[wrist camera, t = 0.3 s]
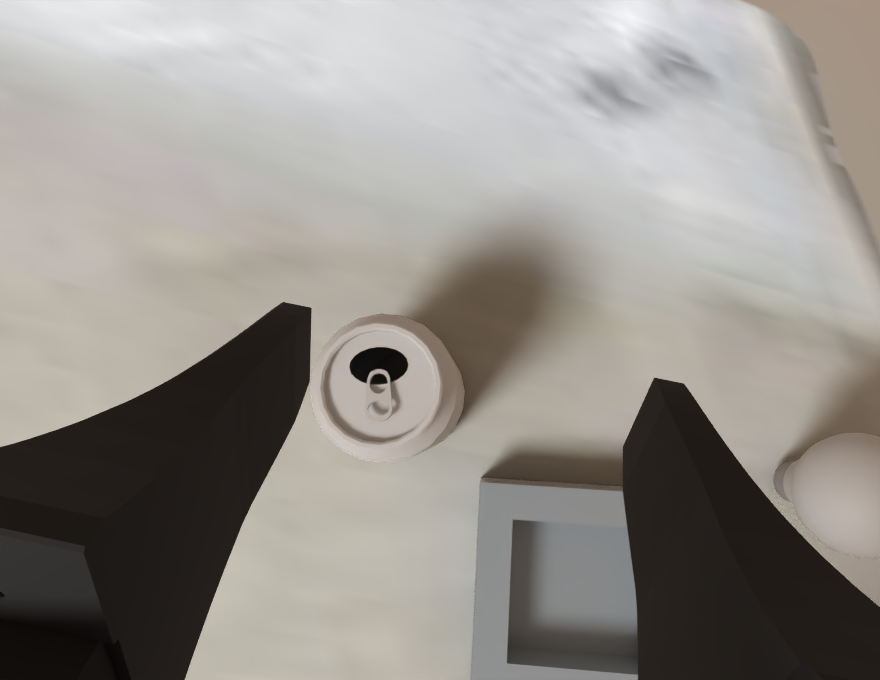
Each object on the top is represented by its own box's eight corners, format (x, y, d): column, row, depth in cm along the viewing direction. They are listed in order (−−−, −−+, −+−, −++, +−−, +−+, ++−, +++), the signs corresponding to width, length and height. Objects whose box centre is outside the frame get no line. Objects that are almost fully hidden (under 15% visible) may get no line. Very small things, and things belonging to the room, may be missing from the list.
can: (462, 335, 44) (451, 303, 32) (468, 450, 43) (459, 461, 31) (350, 341, 44) (298, 312, 32) (354, 455, 43) (301, 468, 31)
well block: (670, 691, 40) (687, 717, 36) (471, 674, 41) (469, 697, 37) (672, 489, 41) (689, 495, 38) (481, 477, 42) (480, 482, 39)
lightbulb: (851, 448, 41) (981, 457, 30) (826, 544, 40) (950, 590, 29) (752, 417, 41) (844, 416, 31) (726, 512, 41) (811, 545, 30)
